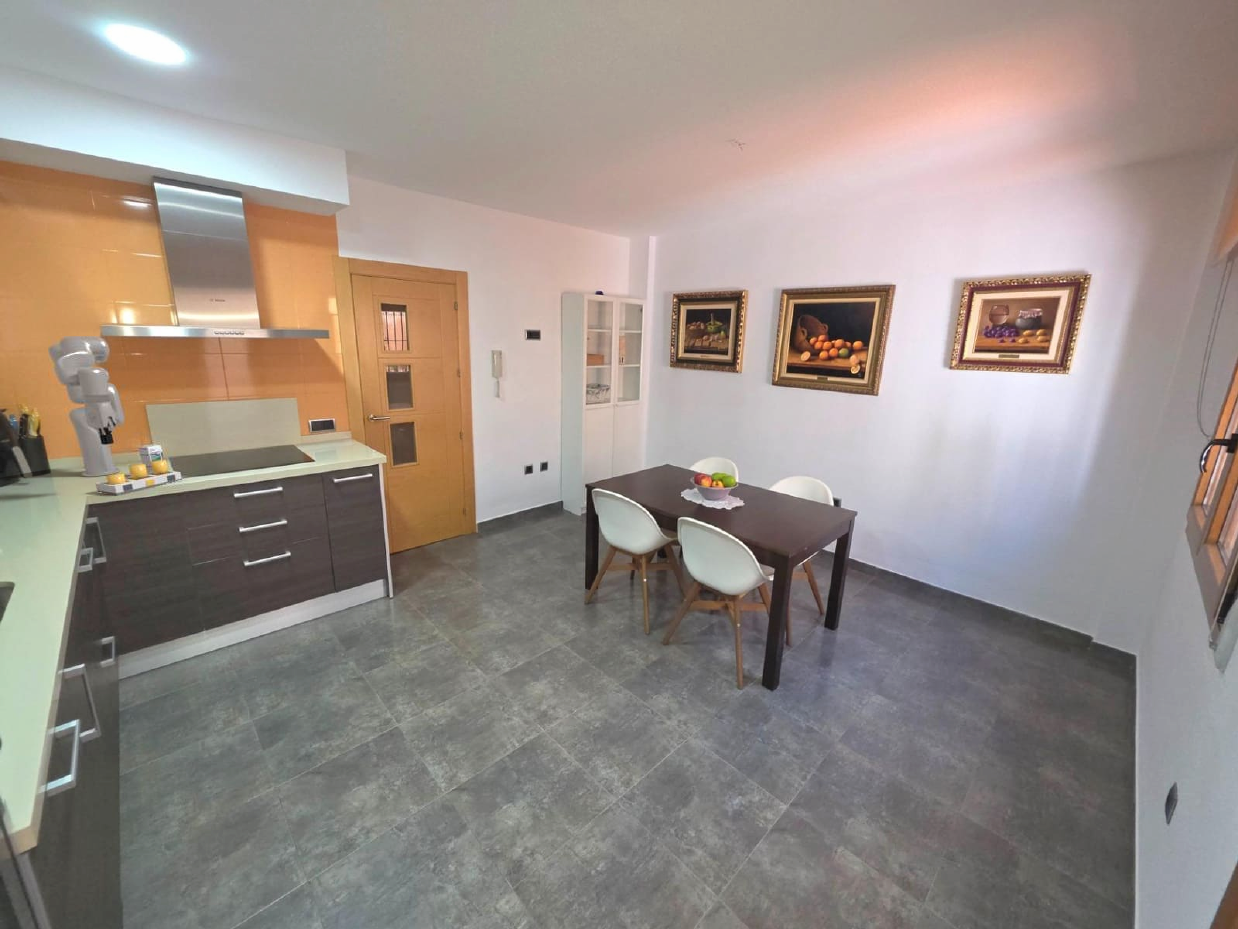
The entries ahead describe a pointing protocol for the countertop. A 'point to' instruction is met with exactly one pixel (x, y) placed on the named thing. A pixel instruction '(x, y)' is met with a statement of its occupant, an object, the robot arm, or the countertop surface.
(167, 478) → the console
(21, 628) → the countertop surface
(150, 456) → the syrup box
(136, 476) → the button mid
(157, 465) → the button far
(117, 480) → the button near
